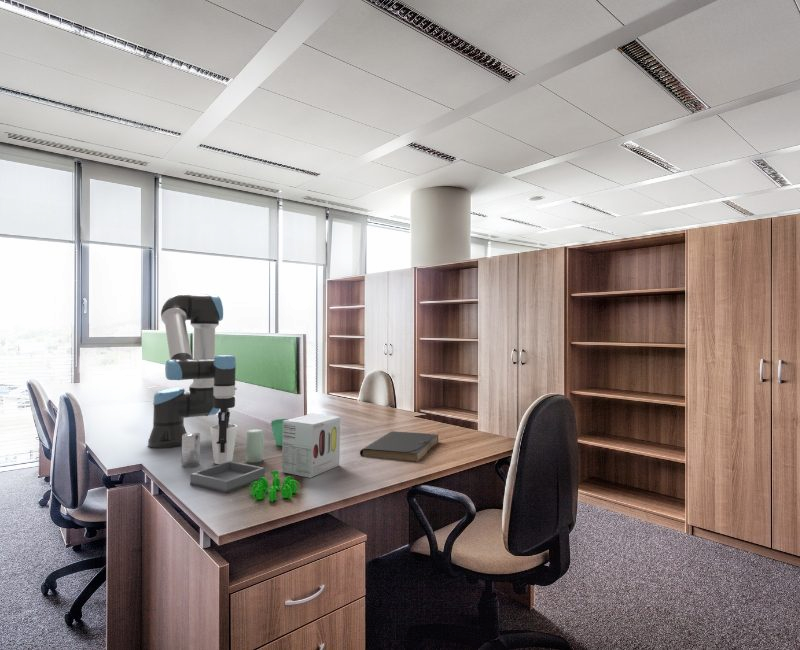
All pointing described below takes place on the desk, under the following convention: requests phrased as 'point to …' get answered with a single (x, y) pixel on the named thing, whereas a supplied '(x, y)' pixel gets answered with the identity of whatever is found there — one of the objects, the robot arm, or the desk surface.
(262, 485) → the green leafy sprig
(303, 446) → the supplement box
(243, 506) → the desk surface
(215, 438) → the foam cup
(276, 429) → the mug
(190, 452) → the steel canister
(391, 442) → the dark grey book
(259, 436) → the sage canister
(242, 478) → the tray
